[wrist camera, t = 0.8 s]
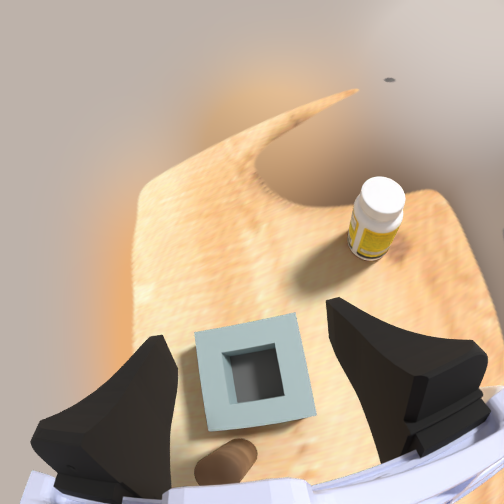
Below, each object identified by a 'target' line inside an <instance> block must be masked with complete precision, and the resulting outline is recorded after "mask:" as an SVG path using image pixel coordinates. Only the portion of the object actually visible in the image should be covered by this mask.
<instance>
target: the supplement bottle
mask: <svg viewBox="0 0 504 504" xmlns="http://www.w3.org/2000/svg"><path fill="white" fill-rule="evenodd" d="M404 204H405V194H404V191H403V190H402V188H401V187H400V186H399V185H398V184H397V183H396V182H395V181H393V180H391V179H389V178H386V177H373V178H370V179H369V180H367V181H366V182H365V183H364V184H363V186H362V189H361V193H360V195H359V196H358V197H357V198H356V200H355V203H354V206H353V212H352V217H351V222H350V227H349V231H348V237H347V241H348V245H349V248H350V249H351V251H352V252H353V253H354V254H355V255H356V256H358V257H359V258H361V259H363V260H368V261H373V260H377V259H380V258H381V257H383V256H384V255H385V254H386V253H387V251H388V249H389V247H390V245H391V243H392V241H393V239H394V237H395V235H396V233H397V231H398V228H399V226H400V224H401V222H402V218H403V207H404Z"/></svg>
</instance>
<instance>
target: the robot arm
mask: <svg viewBox="0 0 504 504" xmlns="http://www.w3.org/2000/svg"><path fill="white" fill-rule="evenodd" d="M326 309H327V320H328V332H329V339H330V342H331V344H332V347H333V350H334V352H335V355H336V357H337V359H338V361H339V362H340V364H341V366H342V368H343V370H344V372H345V373H346V375H347V377H348V379H349V381H350V383H351V384H352V386H353V388H354V390H355V392H356V394H357V396H358V398H359V400H360V403H361V405H362V408H363V410H364V413H365V416H366V418H367V421H368V424H369V427H370V430H371V433H372V436H373V439H374V442H375V445H376V448H377V451H378V455H379V458H380V462H381V464H380V465H377V466H375V467H372V468H369V469H366V470H364V471H361V472H358V473H355V474H351V475H348V476H345V477H342V478H338V479H335V480H331V481H328V482H324V483H320V484H316V485H312V486H311V485H310V484H309V483H308V482H306V481H305V480H303V479H297V478H289V477H285V478H274V479H265V480H258V481H251V482H243V483H234V484H223V485H209V486H185V487H177V488H171V475H170V431H171V423H172V417H173V411H174V405H175V400H176V394H177V387H178V367H177V365H176V363H175V361H174V359H173V357H172V355H171V352H170V350H169V348H168V346H167V344H166V341H165V339H164V337H163V335H157V336H151V337H149V338H148V339H147V340H146V341H145V342H144V343H143V344H142V345H141V346H140V348H139V349H138V350H137V351H136V352H135V353H134V354H133V355H132V356H131V357H130V359H129V360H128V361H127V362H126V363H125V364H124V365H123V366H122V367H121V368H120V369H119V370H118V371H117V372H116V373H115V374H114V375H113V376H112V377H111V378H110V379H109V380H108V381H107V382H106V383H104V384H103V385H102V386H101V387H99V388H98V389H97V390H96V391H95V392H93V393H92V394H90V395H89V396H87V397H86V398H84V399H83V400H81V401H80V402H78V403H77V404H75V405H73V406H72V407H70V408H68V409H66V410H64V411H62V412H60V413H58V414H55V415H53V416H51V417H48V418H46V419H43V420H41V421H40V422H39V424H38V426H37V428H36V431H35V433H34V435H33V437H32V439H31V445H32V448H33V449H34V451H35V452H36V453H37V454H38V455H39V456H40V457H41V458H42V459H43V460H44V461H45V462H46V463H47V464H48V465H49V466H51V467H52V468H53V469H54V470H55V471H56V472H57V473H58V474H57V477H56V478H55V477H53V476H51V475H48V474H45V473H41V472H38V471H34V470H33V471H31V474H30V477H29V479H28V482H27V485H26V487H25V490H24V493H23V496H22V499H21V502H20V504H454V503H455V502H457V501H458V500H460V499H461V498H463V497H464V496H466V495H467V494H469V493H470V492H472V491H473V490H475V489H476V488H477V487H479V486H480V485H481V484H483V483H484V482H486V481H487V480H488V479H490V478H491V477H492V476H494V475H495V474H496V473H497V472H499V471H500V470H501V469H502V468H504V388H503V389H502V390H500V391H499V392H497V393H496V394H495V395H493V396H492V397H491V398H490V399H489V400H488V401H487V402H486V403H485V402H484V401H483V400H482V399H481V398H482V397H483V392H482V391H481V390H480V388H479V386H480V384H481V381H482V379H483V376H484V374H485V371H486V368H487V364H488V356H487V354H486V353H485V352H484V351H483V350H482V349H481V348H480V347H479V346H478V345H477V344H476V343H475V342H474V341H473V340H458V339H445V338H437V337H431V336H426V335H422V334H418V333H414V332H410V331H407V330H404V329H401V328H398V327H395V326H393V325H390V324H388V323H386V322H384V321H381V320H379V319H377V318H375V317H373V316H371V315H369V314H368V313H366V312H364V311H362V310H360V309H359V308H357V307H355V306H354V305H352V304H350V303H349V302H347V301H345V300H343V299H342V298H340V297H337V298H333V299H330V300H326Z"/></svg>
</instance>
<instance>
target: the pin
mask: <svg viewBox="0 0 504 504" xmlns="http://www.w3.org/2000/svg"><path fill="white" fill-rule="evenodd" d="M256 459H257V450H256V448H255V446H254V445H253V444H252V443H251V442H250V441H248V440H245V439H234V440H231V441H230V442H228V443H227V444H225V445H224V446H222V447H220V448H219V449H217V450H216V451H214V452H213V453H211V454H209V455H208V456H206V457H204V458H203V459H201V460H200V461H199V462H198V463H197V465H196V467H195V472H194V474H195V478H196V481H197V482H198V484H199V485H200V486H209V485H223V484H234V483H240V481H241V480H242V479H243V477H244V476H245V475H246V473H247V472H248V471H249V469H250V468H251V467H252V465H253V464H254V462H255V461H256Z"/></svg>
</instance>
